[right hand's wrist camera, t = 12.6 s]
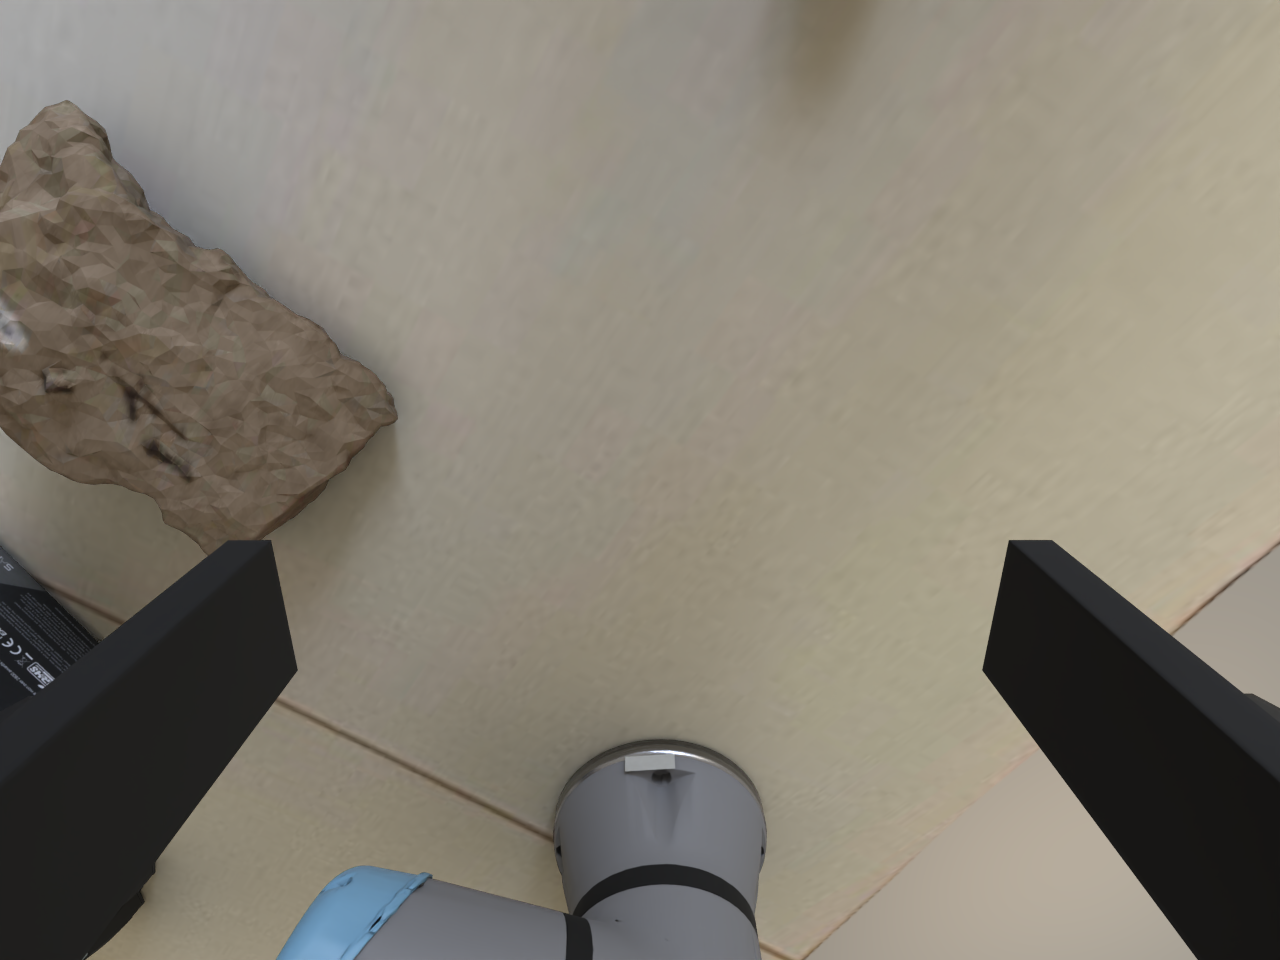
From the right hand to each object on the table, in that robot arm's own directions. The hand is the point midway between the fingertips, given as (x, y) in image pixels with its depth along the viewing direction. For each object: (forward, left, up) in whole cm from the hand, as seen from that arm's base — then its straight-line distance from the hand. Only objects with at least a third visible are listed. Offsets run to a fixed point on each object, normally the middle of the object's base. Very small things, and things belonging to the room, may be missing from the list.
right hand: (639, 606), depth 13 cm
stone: (-18, +17, -29) cm, 38 cm away
